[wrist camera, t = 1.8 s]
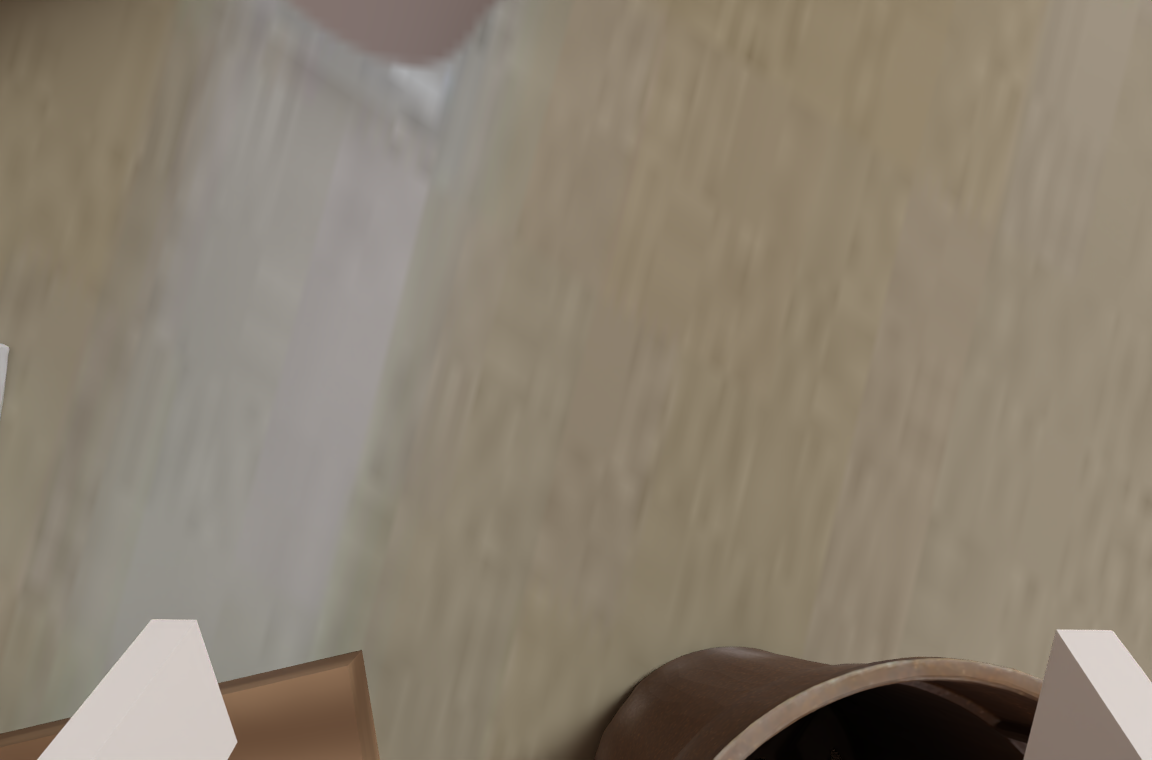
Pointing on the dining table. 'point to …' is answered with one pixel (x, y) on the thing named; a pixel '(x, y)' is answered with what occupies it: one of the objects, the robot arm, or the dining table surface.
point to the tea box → (3, 370)
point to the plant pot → (823, 710)
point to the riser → (273, 715)
